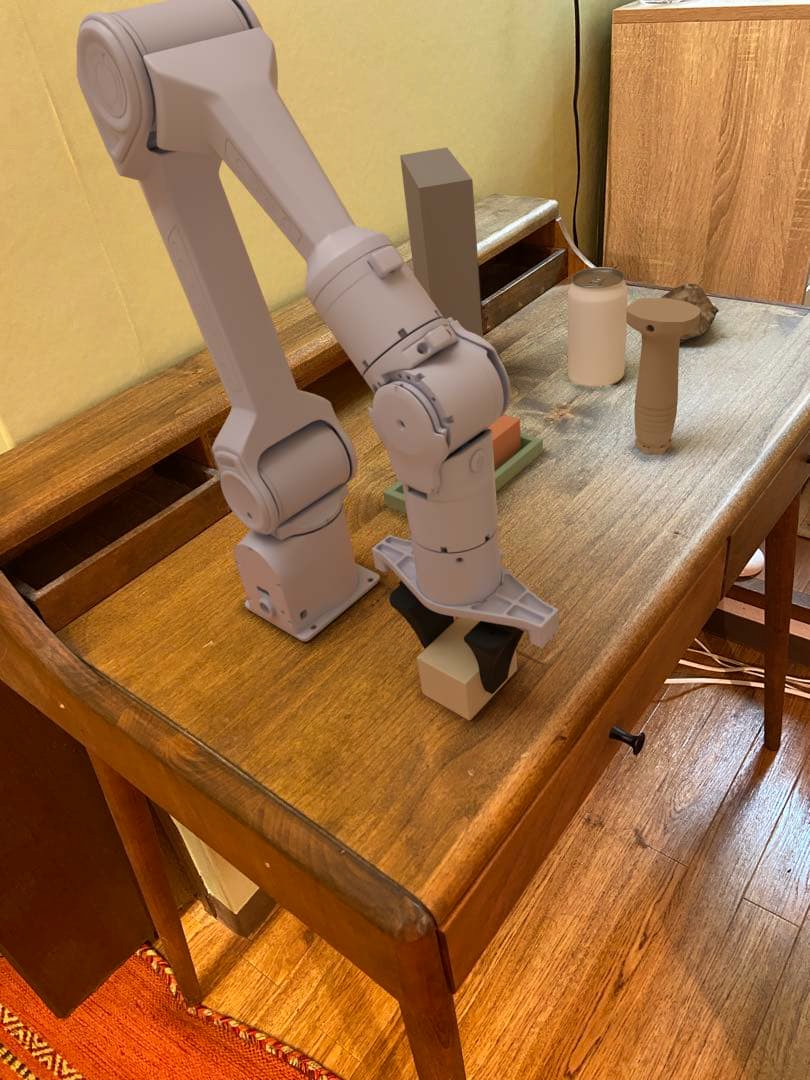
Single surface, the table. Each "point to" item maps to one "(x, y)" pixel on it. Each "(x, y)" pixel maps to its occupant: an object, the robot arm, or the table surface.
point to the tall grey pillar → (444, 234)
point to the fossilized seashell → (699, 299)
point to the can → (597, 326)
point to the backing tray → (504, 474)
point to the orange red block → (505, 439)
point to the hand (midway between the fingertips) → (469, 669)
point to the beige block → (455, 671)
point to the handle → (658, 367)
